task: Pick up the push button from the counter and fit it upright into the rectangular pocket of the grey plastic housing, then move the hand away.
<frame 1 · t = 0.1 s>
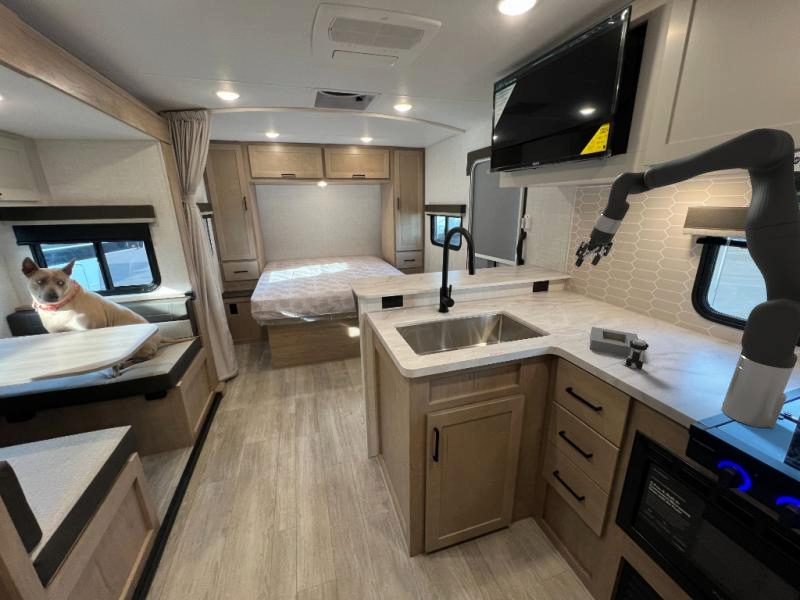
hand: (585, 265, 128), 31 cm above the table, tool tilted 20°, fingers open, 8 cm apart
housing: (612, 346, 128), on the table
push button: (631, 366, 113), on the table
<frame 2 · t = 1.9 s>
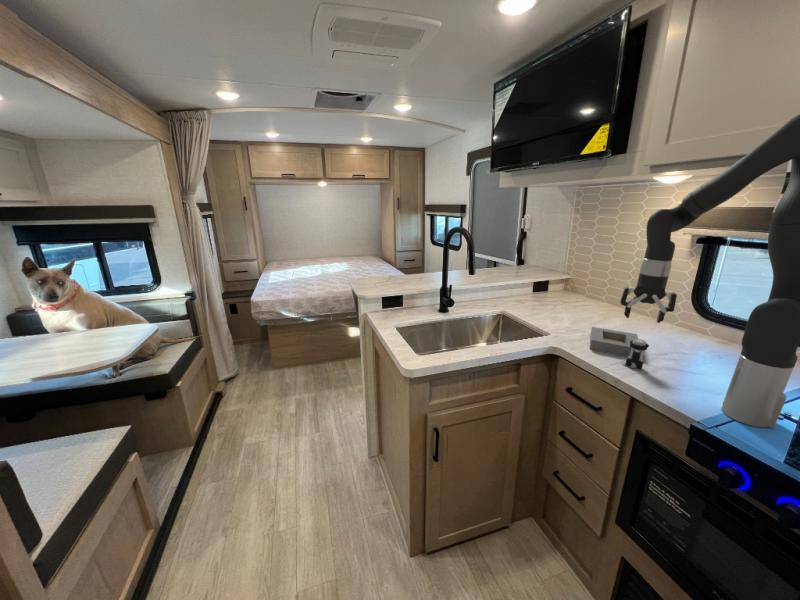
hand: (642, 319, 107), 18 cm above the table, tool pointing down, fingers open, 8 cm apart
nothing on the table moved.
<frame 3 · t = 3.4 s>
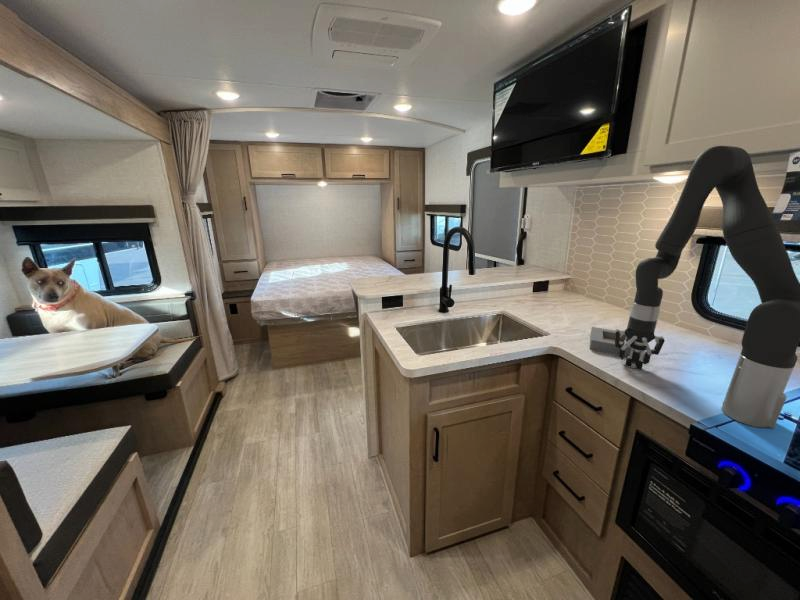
hand: (632, 360, 112), 2 cm above the table, tool pointing down, fingers open, 6 cm apart
push button: (631, 366, 113), on the table, touching gripper
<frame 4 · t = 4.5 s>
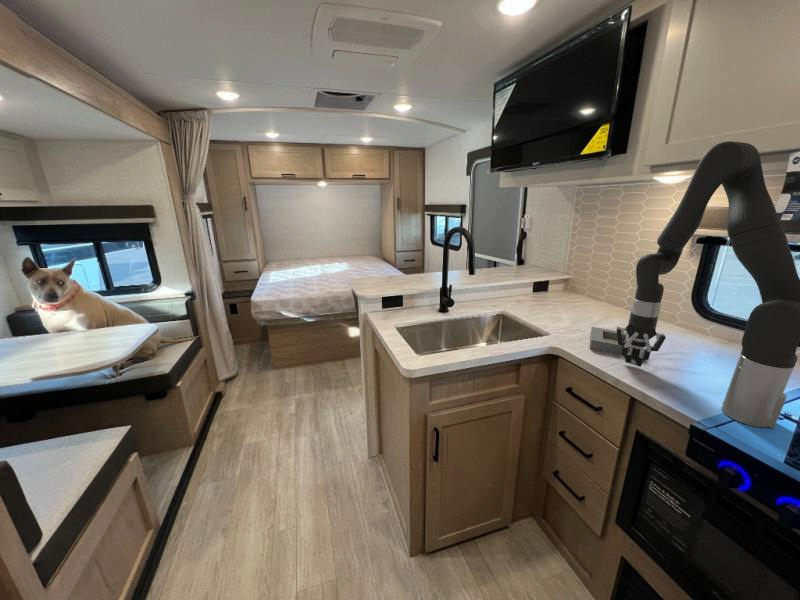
hand: (634, 358, 111), 3 cm above the table, tool pointing down, fingers closed on push button, 5 cm apart
push button: (630, 363, 112), point 1 cm above the table, touching gripper
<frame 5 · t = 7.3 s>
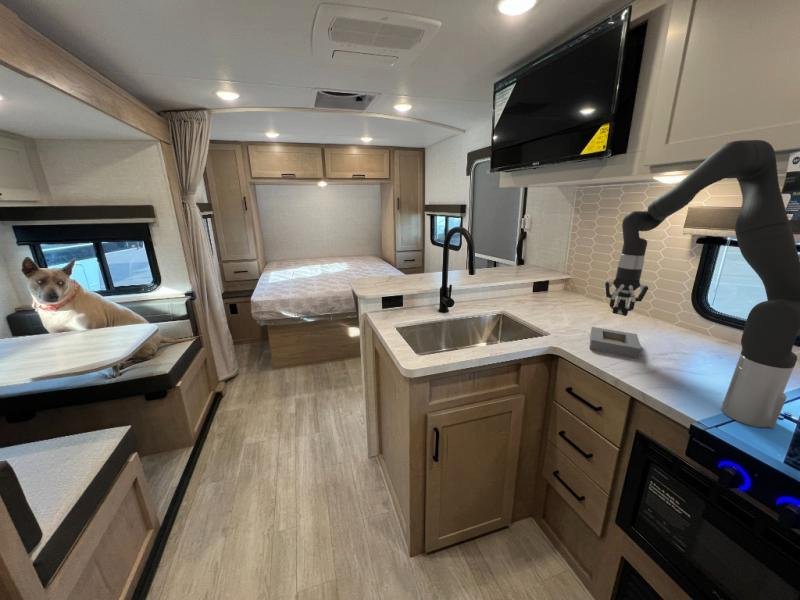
hand: (620, 309, 123), 16 cm above the table, tool pointing down, fingers closed on push button, 5 cm apart
push button: (617, 314, 124), point 14 cm above the table, touching gripper
when the fingers open (5 cm above the table, at t = 9.8 s): push button drops 2 cm, resting on housing.
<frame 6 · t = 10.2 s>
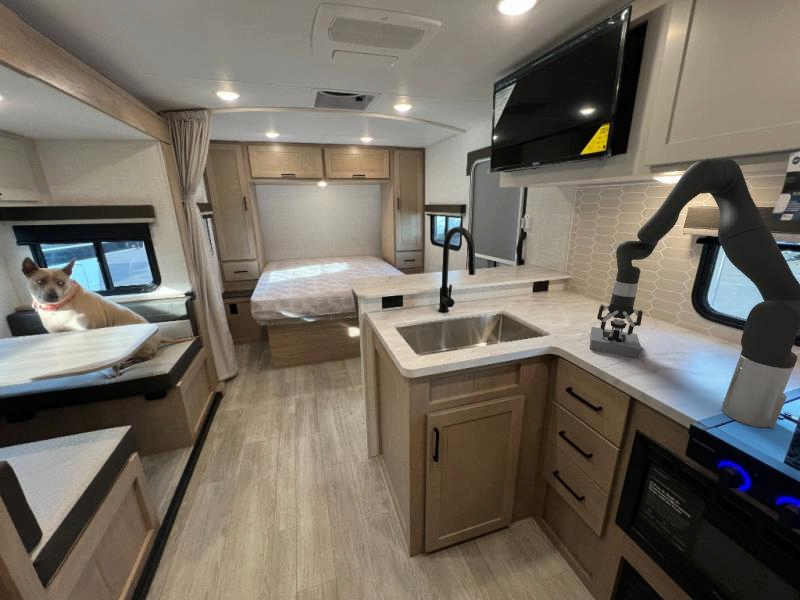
hand: (615, 332, 126), 6 cm above the table, tool pointing down, fingers open, 8 cm apart
push button: (612, 343, 128), point 1 cm above the table, touching housing
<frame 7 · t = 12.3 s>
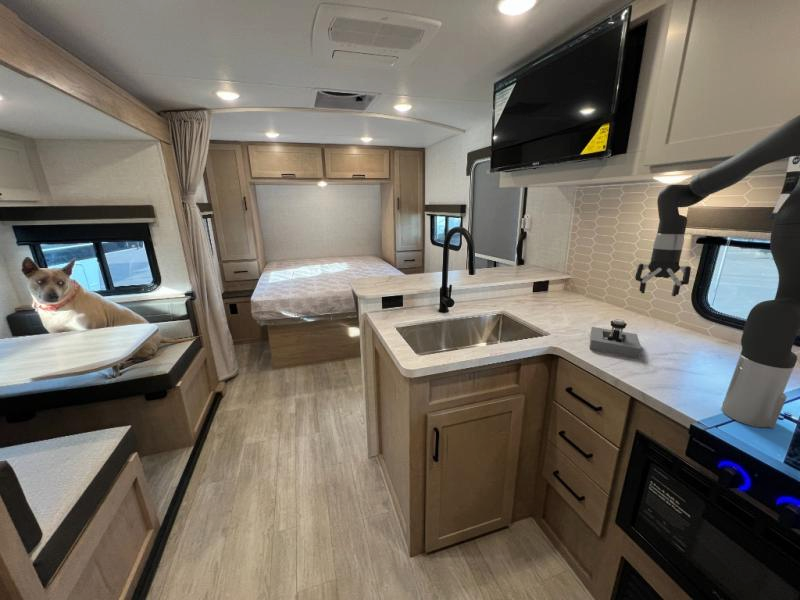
hand: (657, 294, 110), 25 cm above the table, tool pointing down, fingers open, 8 cm apart
nothing on the table moved.
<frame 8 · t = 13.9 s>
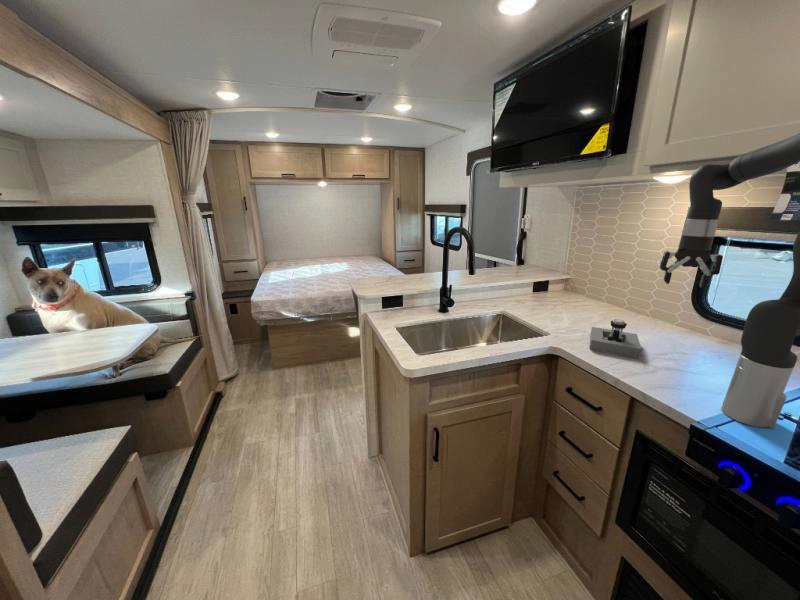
hand: (683, 285, 102), 30 cm above the table, tool pointing down, fingers open, 8 cm apart
nothing on the table moved.
at the end: push button 0.4 cm off-centre on the housing, point 1.0 cm above the housing's base; push button tilted 0°; the gripper is holding nothing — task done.
